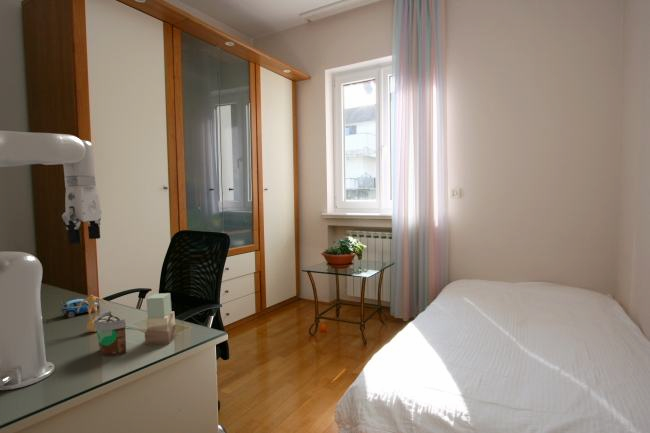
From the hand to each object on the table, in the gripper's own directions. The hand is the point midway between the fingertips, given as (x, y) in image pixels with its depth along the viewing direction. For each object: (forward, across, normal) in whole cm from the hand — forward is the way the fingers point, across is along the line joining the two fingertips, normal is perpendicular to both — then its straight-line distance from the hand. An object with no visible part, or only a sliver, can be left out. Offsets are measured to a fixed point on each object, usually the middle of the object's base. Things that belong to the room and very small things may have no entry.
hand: (85, 240), depth 111 cm
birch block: (+28, 0, -20) cm, 34 cm away
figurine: (+32, +11, +6) cm, 34 cm away
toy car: (+32, +30, +22) cm, 49 cm away
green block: (+24, 0, -20) cm, 31 cm away
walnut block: (+32, 0, -20) cm, 38 cm away
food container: (+32, -7, -8) cm, 33 cm away
